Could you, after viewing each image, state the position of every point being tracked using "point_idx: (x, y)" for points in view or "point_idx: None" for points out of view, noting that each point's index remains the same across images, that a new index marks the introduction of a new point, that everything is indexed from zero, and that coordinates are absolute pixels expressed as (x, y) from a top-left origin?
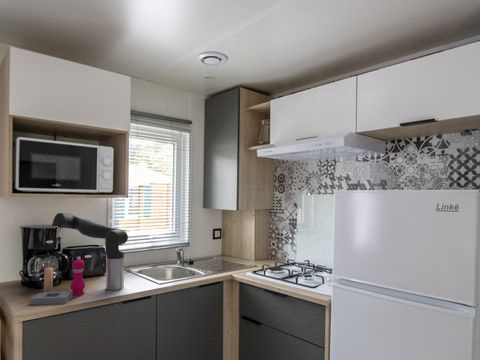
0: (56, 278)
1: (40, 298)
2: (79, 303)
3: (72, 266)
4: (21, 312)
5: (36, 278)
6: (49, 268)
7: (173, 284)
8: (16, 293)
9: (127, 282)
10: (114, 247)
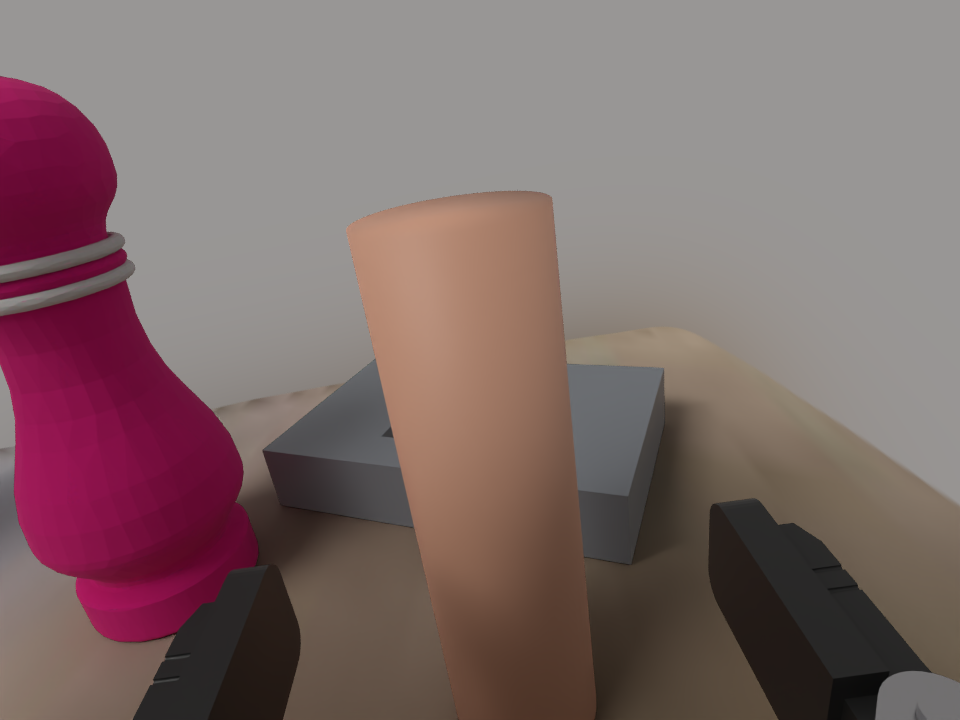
0: (288, 621)
1: (574, 366)
2: (310, 391)
3: (104, 182)
4: (676, 339)
5: (814, 549)
6: (439, 206)
7: None
8: None
9: None
10: None
